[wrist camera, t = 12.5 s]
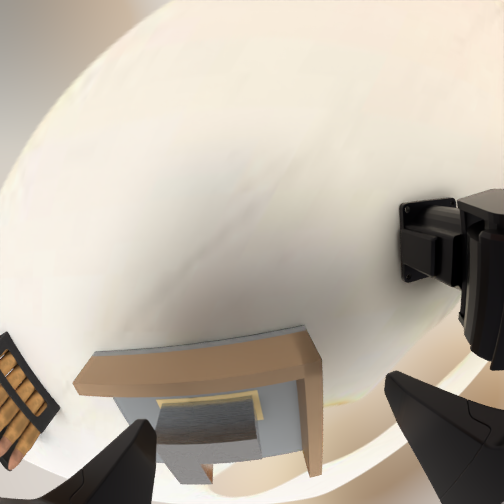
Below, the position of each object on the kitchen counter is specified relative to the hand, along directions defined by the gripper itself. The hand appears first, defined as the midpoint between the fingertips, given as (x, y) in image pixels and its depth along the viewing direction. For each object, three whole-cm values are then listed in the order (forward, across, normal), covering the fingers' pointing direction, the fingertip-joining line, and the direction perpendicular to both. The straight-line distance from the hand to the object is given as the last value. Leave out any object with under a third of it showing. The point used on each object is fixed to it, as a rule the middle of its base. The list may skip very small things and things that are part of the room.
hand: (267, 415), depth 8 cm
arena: (+11, +6, +11) cm, 17 cm away
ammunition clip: (+11, +27, +5) cm, 29 cm away
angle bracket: (+11, +6, +12) cm, 17 cm away
